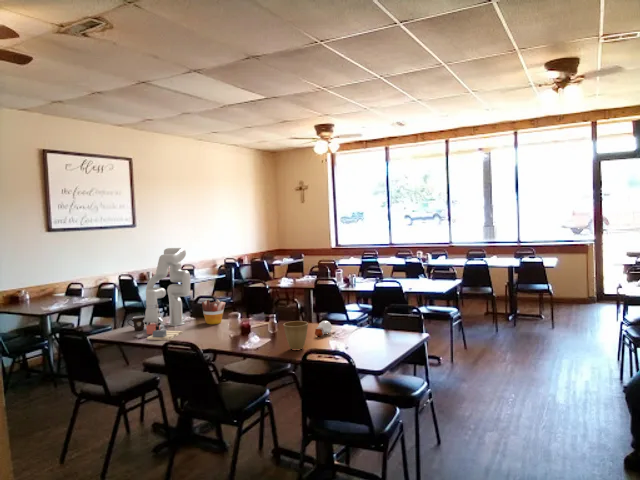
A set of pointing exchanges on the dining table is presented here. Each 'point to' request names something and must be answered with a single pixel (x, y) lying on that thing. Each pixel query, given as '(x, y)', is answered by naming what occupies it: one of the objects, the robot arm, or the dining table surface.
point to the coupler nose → (159, 333)
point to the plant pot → (296, 333)
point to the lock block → (151, 328)
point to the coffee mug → (138, 323)
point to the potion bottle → (323, 328)
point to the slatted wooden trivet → (169, 335)
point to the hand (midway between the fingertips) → (153, 331)
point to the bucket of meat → (213, 311)
